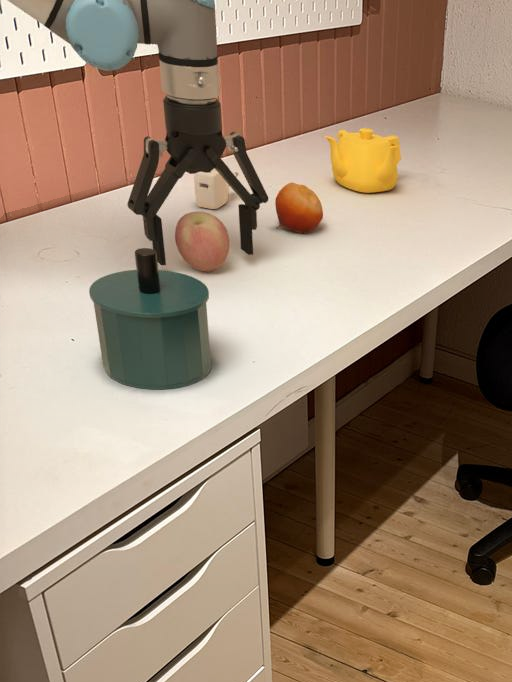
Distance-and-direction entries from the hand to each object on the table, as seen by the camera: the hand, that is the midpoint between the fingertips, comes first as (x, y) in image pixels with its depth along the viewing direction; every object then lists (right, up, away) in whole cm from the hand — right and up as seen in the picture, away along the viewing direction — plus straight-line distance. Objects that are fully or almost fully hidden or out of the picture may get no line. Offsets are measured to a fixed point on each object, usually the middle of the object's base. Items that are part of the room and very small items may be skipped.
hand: (204, 257), depth 142 cm
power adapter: (-5, +20, +25) cm, 33 cm away
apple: (0, -2, +1) cm, 2 cm away
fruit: (+11, +12, +19) cm, 25 cm away
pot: (+1, -23, -24) cm, 33 cm away
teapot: (+19, +30, +41) cm, 54 cm away
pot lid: (+2, -16, -30) cm, 34 cm away
